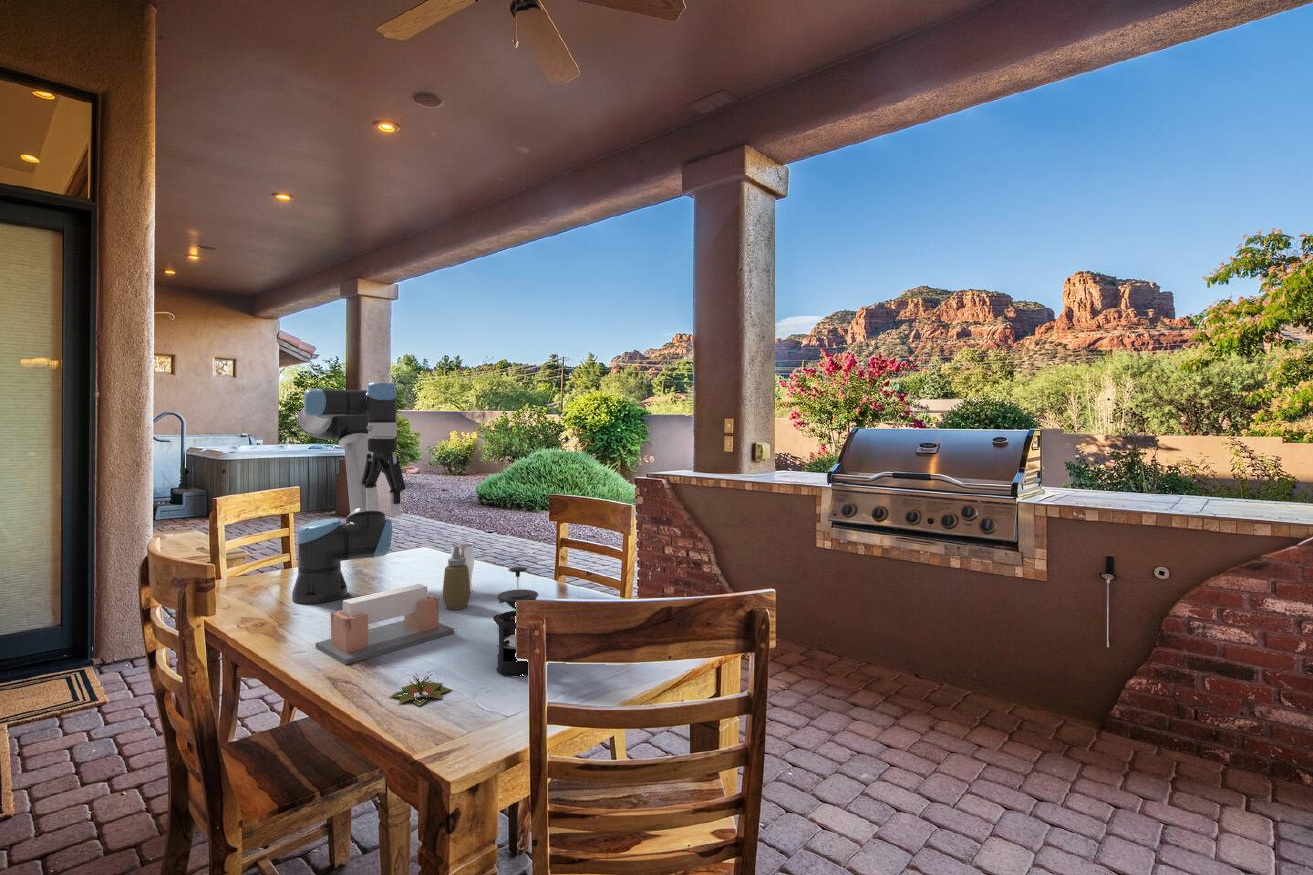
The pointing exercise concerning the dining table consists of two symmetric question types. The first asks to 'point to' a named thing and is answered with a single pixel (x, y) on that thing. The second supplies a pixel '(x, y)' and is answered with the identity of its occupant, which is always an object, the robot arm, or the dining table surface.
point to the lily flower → (417, 688)
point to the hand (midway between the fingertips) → (383, 513)
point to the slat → (386, 603)
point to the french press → (507, 641)
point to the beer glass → (467, 558)
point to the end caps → (382, 633)
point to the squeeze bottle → (456, 582)
